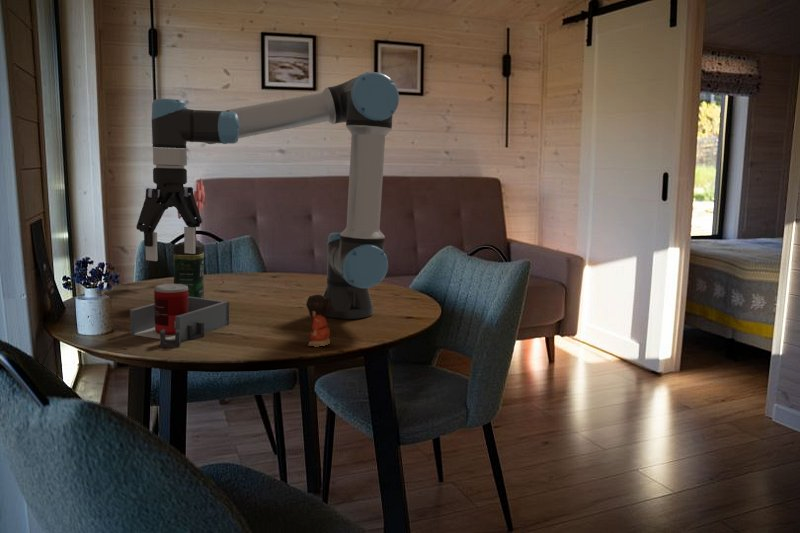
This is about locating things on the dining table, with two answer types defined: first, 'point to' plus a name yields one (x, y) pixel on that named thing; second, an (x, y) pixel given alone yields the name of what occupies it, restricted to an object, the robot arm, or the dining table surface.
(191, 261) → the coffee jar
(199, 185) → the pink flower
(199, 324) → the clip
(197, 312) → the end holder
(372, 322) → the dining table surface
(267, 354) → the dining table surface
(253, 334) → the dining table surface
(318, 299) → the figurine
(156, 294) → the canned food
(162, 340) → the clip
